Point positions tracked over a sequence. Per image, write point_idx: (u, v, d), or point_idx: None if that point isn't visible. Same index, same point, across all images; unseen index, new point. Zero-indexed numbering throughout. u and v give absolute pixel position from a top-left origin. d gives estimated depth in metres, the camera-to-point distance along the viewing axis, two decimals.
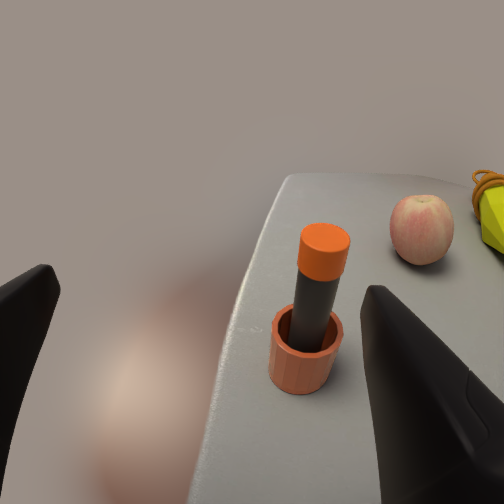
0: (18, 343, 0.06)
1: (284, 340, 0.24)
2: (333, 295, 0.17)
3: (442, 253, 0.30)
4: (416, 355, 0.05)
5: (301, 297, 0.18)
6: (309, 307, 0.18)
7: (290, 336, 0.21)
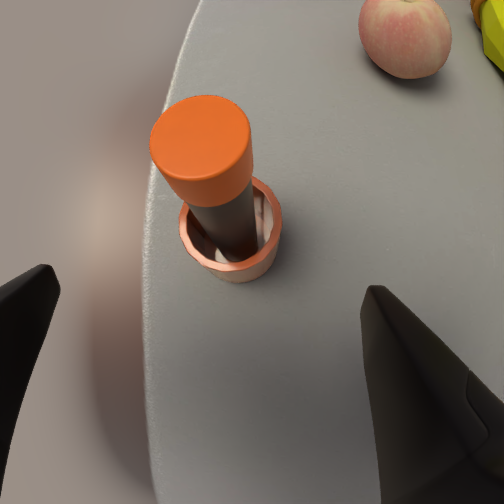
0: (18, 343, 0.06)
1: None
2: (244, 205, 0.11)
3: (434, 70, 0.18)
4: (416, 355, 0.05)
5: (193, 212, 0.11)
6: (210, 224, 0.11)
7: None
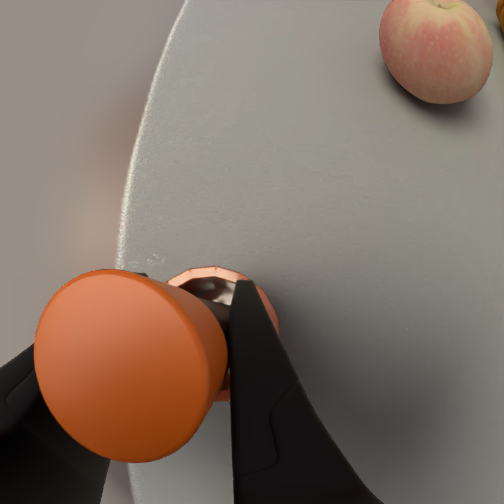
0: None
1: None
2: None
3: (471, 96, 0.14)
4: (236, 354, 0.05)
5: None
6: None
7: None
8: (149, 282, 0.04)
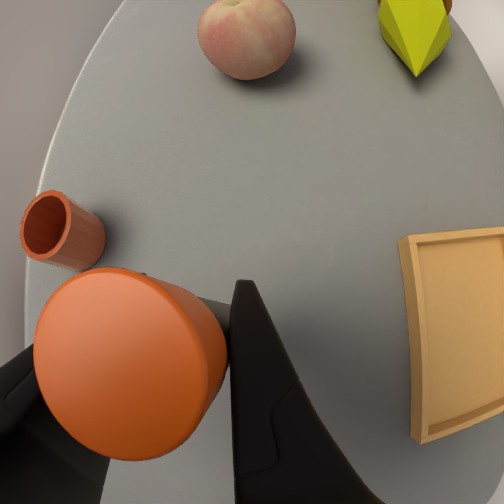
0: None
1: (59, 219, 0.22)
2: None
3: (270, 66, 0.21)
4: (237, 354, 0.05)
5: None
6: None
7: None
8: (148, 280, 0.04)
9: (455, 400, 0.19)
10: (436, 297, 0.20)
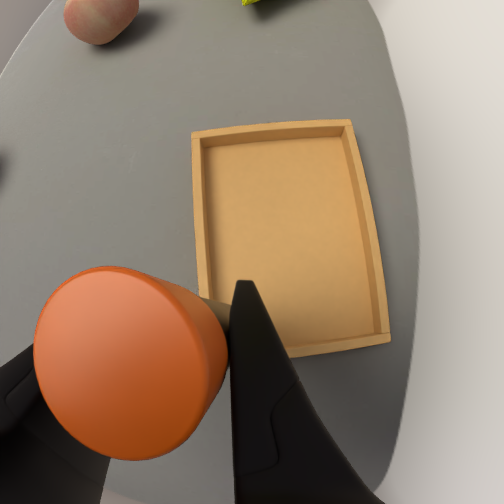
0: None
1: None
2: None
3: (109, 28, 0.22)
4: (237, 354, 0.05)
5: None
6: None
7: None
8: (149, 279, 0.04)
9: None
10: (234, 195, 0.21)
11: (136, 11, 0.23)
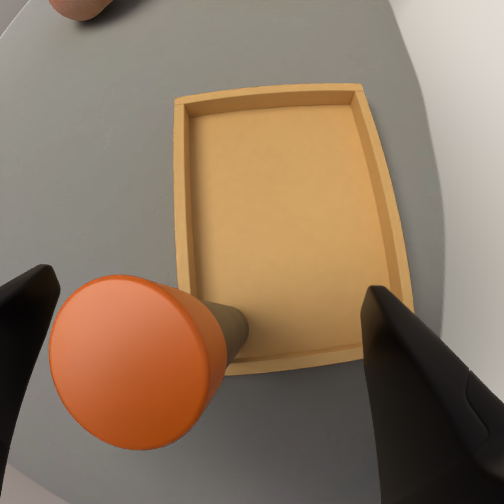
0: (18, 343, 0.06)
1: None
2: None
3: (93, 0, 0.18)
4: (416, 355, 0.05)
5: None
6: None
7: None
8: (156, 287, 0.04)
9: (267, 325, 0.16)
10: (224, 169, 0.17)
11: None
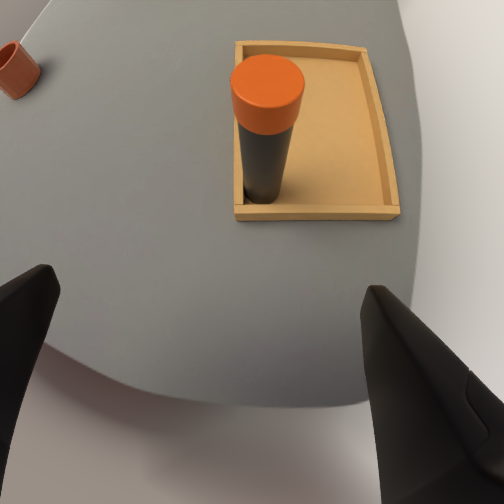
0: (18, 343, 0.06)
1: None
2: (286, 142, 0.13)
3: None
4: (416, 355, 0.05)
5: (245, 144, 0.13)
6: (256, 155, 0.14)
7: (243, 171, 0.18)
8: None
9: (292, 188, 0.22)
10: None
11: None
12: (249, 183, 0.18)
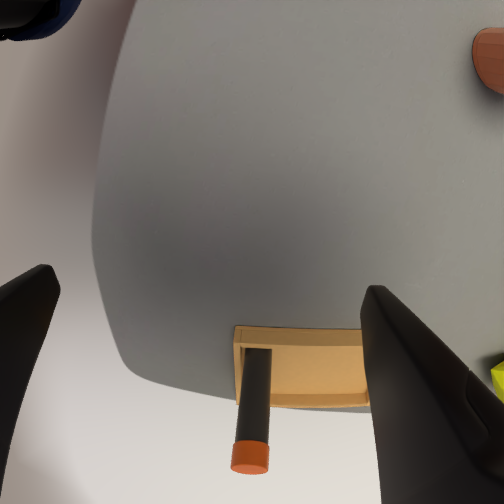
0: (18, 343, 0.06)
1: None
2: None
3: None
4: (416, 355, 0.05)
5: (242, 420, 0.21)
6: (238, 417, 0.21)
7: (252, 373, 0.24)
8: None
9: None
10: (349, 350, 0.28)
11: None
12: (246, 370, 0.25)
